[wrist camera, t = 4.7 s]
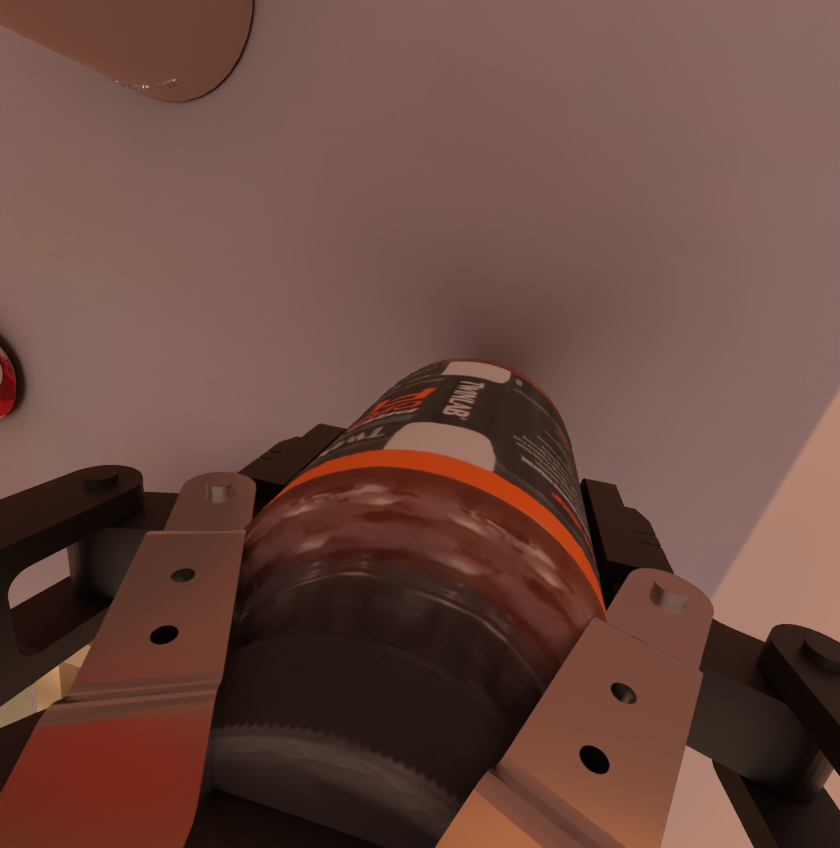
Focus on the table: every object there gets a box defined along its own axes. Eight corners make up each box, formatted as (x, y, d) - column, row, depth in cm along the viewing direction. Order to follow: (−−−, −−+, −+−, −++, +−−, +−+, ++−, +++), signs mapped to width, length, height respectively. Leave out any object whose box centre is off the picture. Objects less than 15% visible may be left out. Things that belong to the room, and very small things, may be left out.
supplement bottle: (439, 311, 14) (151, 474, 3) (613, 430, 14) (904, 984, 3) (341, 466, 16) (-23, 867, 5) (491, 569, 16) (424, 1165, 5)
